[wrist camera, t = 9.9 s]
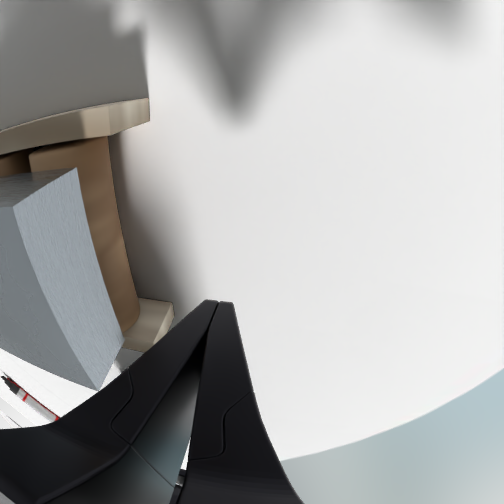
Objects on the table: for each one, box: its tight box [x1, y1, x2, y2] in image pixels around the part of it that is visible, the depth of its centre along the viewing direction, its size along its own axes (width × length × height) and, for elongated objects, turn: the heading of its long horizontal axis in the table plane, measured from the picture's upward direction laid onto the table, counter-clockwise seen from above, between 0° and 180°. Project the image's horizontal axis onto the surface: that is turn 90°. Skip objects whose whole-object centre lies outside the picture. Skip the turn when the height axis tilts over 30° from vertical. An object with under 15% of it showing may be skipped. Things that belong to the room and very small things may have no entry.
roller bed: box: [0, 98, 175, 352], centre depth 13 cm, size 12×21×4 cm, turn 89°
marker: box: [1, 376, 59, 423], centre depth 34 cm, size 15×2×2 cm, turn 41°
